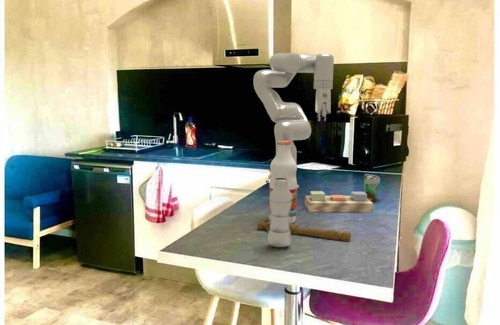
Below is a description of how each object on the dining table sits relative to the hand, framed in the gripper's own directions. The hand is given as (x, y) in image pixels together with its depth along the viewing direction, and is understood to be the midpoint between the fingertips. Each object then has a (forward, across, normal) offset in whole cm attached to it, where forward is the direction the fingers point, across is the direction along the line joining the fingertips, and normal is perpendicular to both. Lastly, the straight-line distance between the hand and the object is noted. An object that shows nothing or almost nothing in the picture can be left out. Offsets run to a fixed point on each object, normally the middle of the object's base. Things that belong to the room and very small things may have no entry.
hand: (321, 130), depth 186 cm
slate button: (+26, -15, -13) cm, 33 cm away
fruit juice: (+29, -33, +18) cm, 47 cm away
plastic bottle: (+28, -59, +21) cm, 69 cm away
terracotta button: (+27, -15, -5) cm, 32 cm away
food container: (+29, -1, -22) cm, 36 cm away
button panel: (+29, -15, -5) cm, 33 cm away
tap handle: (+29, -48, +13) cm, 58 cm away
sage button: (+26, -15, +3) cm, 30 cm away
